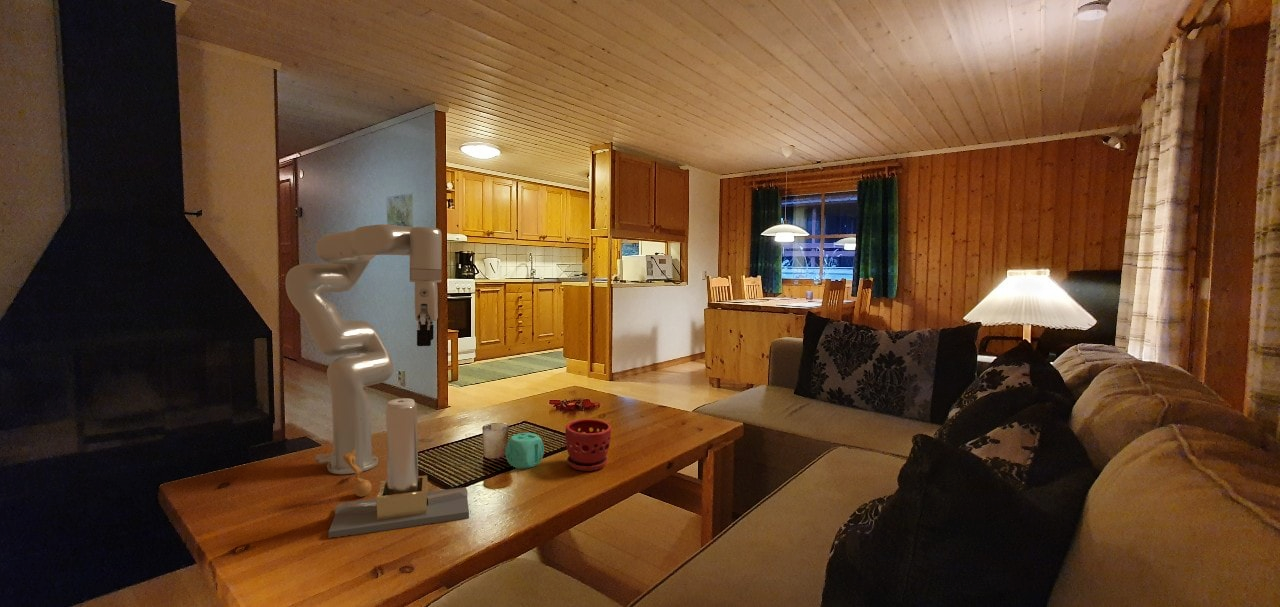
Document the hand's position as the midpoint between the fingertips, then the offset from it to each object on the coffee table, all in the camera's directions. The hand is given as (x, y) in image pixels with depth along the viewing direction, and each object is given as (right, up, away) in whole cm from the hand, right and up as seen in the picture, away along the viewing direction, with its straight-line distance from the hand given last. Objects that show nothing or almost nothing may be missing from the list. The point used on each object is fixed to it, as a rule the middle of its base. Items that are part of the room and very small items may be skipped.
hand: (425, 342), depth 136 cm
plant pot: (+40, -37, +17) cm, 57 cm away
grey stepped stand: (+1, -37, -14) cm, 40 cm away
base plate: (+1, -39, -14) cm, 41 cm away
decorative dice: (+22, -37, +18) cm, 46 cm away
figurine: (-14, -38, -6) cm, 41 cm away
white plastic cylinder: (0, -37, -14) cm, 40 cm away
